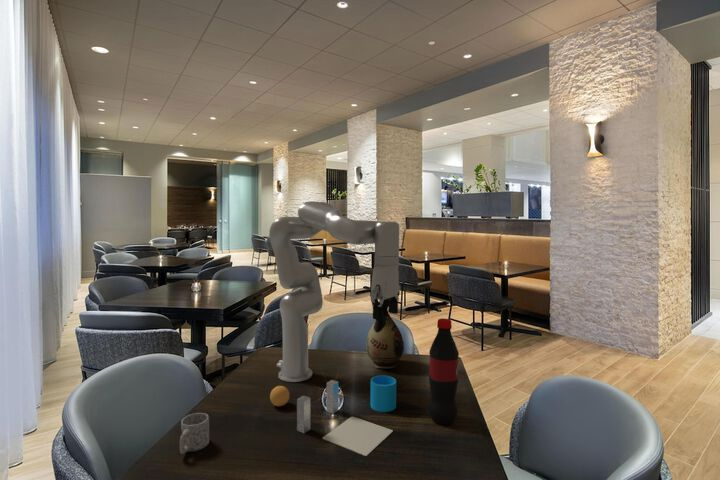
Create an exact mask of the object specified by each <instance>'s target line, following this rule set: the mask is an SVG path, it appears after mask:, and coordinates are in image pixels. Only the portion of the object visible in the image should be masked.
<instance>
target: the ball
mask: <svg viewBox="0 0 720 480" xmlns="http://www.w3.org/2000/svg"><path fill="white" fill-rule="evenodd" d="M269 399H270V402H271V404H272V405H274V406H276V407H282V406H285V405H286V404H287V403H288V401H289V399H290V392H289V389H288V388H287V387H285V386H284V385H277V386H275V387H273V388H272V389H271V391H270V394H269Z"/></svg>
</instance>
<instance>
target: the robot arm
mask: <svg viewBox="0 0 720 480" xmlns="http://www.w3.org/2000/svg"><path fill="white" fill-rule="evenodd" d="M321 231H324V232H327V233H328V234H329V235H330V236H331V237H332V238H334V239H336V240H339V241H340V242H343V243H347V244H350V245H357V246H359V245H372V244H373V245H374V267H373V271H372V275H371V290H370V291H371V292H370V293H369V296H370V302H371V306H372V319H373V320H375V321H376V320H383V307H381V306H382V304H383V301H384V300H386V299H390V300H389V302H388V313H389V314H396V315H397V314H398V313H399V299H400V297H399V296H400V294H401V293H400V291H401V284H400V276H399V266H400V265H399V264H400V224H399V223H398V222H397V221H388V220H387V221H385V220H384V221H377V220H367V219H366V220H364V219H362V220H361V219H351V218H349V217H345V216H344V215H343V212H342V210H340V209H339V208H336V207H334V206H333V205H332V204H331V203H329V202H325V201H312V200H309V201H305V202H303V203H302V204H300V205H299V207H298V209H297V216H281V217H277V218H276V219H275V220H274V221H273V222H272V223H271V225H270V228H269V234H268V235H269V237H268V238H269V242H270V245H271V249H272V250H273V254H274V258H275V264H276V269H277V275H278V276H277V277H278V280H279V284H280V286H281V287H282V288H283V289H285V290H294V289H295V290H296V289H301V290H299V291H295V292H290V293H287V294H285V295H284V296H282V298H281V300H280V301H279V312H280V316H281V323H282V324H281V325H282V326H281V327H282V329H281V330H282V359H279V361H278V362H277V363H276V367H277V368H280V371H278V374H277V375H278V376H277V377H278V378H279V379H280V381H284V382H287V383H298V382H304V381H307V380H309V379H310V378H312V377H313V371H312V369H311V368H309V327H308V323H307V322H306V320H305V317H307V316H310V315H313V314H316V313H318V312H321V309H322V308H323V305H324V304H323V303H324V299H323V293H322V292H323V291H322V288H321V282H320V278H319V272H318V270H317V268H316V267H315V266H314V265H313V264H312V263H310V262H300V260H299V256H298V251H297V249H296V247H295V246H294V244H293V243H292V242H291V240H302V239H303V240H307V239H311V238H313V237H314V236H316V235H318V234H319V233H320V232H321ZM380 296H381V297H380Z"/></svg>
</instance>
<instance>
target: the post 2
mask: <svg viewBox="0 0 720 480" xmlns="http://www.w3.org/2000/svg"><path fill="white" fill-rule="evenodd" d="M338 411H339V381H338V380H337V381H336V380H334V379H331V380H329V381H327V382H326V412H327V413H329V414H335V413H337V412H338Z"/></svg>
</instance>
